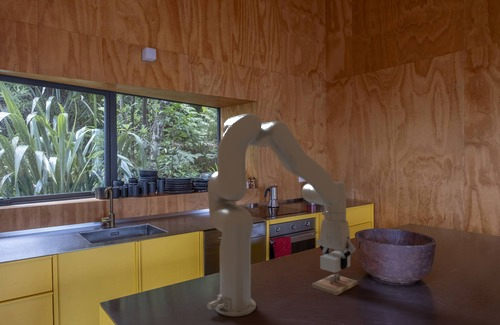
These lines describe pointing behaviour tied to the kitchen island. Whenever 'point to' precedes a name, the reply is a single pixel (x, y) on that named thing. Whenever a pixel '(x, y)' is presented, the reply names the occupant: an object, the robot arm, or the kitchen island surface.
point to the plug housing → (332, 261)
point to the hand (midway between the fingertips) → (335, 265)
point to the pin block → (334, 284)
